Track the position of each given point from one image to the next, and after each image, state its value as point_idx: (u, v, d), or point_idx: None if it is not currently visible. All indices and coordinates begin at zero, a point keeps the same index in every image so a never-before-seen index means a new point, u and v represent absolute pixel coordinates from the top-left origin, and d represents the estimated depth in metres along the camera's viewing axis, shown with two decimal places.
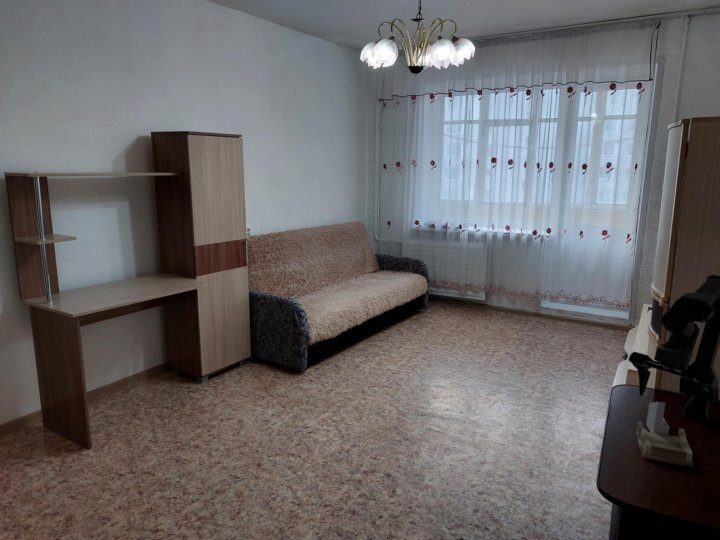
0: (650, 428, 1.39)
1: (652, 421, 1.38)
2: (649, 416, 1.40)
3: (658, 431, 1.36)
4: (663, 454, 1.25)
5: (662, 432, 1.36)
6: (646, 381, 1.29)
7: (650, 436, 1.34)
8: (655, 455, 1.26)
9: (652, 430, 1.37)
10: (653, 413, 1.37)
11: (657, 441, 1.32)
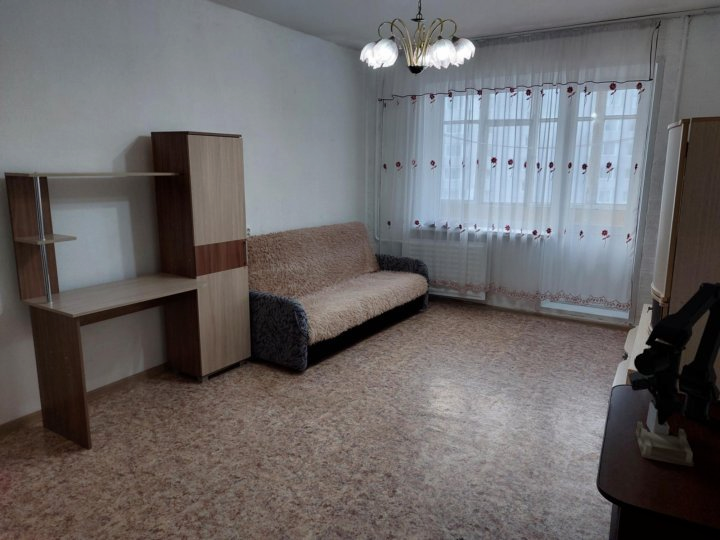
0: (650, 428, 1.39)
1: (652, 420, 1.38)
2: (649, 416, 1.40)
3: (658, 431, 1.36)
4: (663, 454, 1.25)
5: (662, 432, 1.36)
6: None
7: (650, 436, 1.34)
8: (655, 455, 1.26)
9: (652, 430, 1.37)
10: (653, 413, 1.37)
11: (657, 441, 1.32)
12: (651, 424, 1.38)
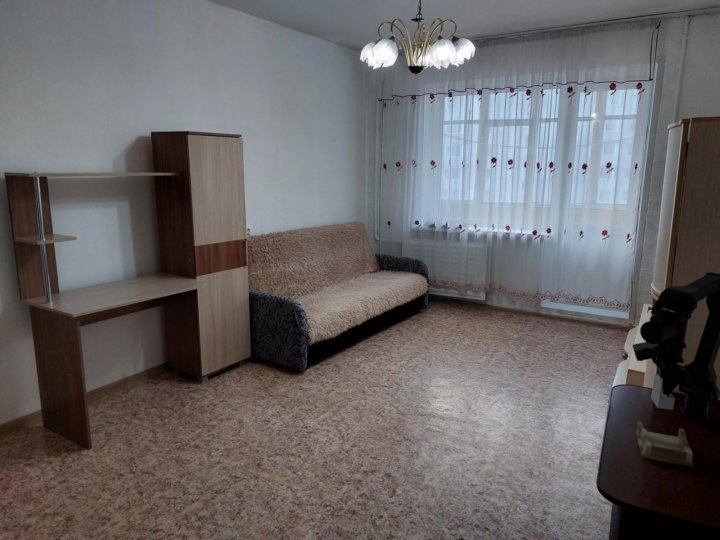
0: (655, 401, 1.35)
1: (656, 393, 1.34)
2: (654, 389, 1.36)
3: (663, 403, 1.33)
4: (663, 454, 1.25)
5: (667, 404, 1.32)
6: None
7: (650, 436, 1.34)
8: (655, 455, 1.26)
9: (657, 402, 1.34)
10: (658, 385, 1.34)
11: (657, 441, 1.32)
12: (656, 397, 1.35)
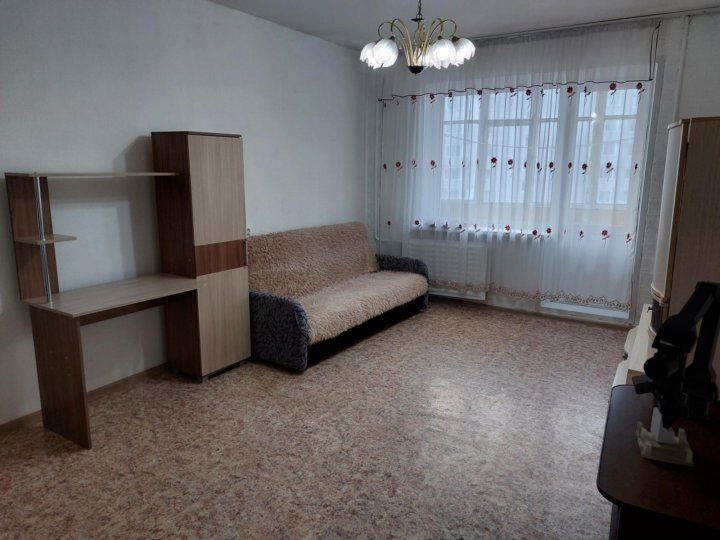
0: (654, 434, 1.33)
1: (656, 426, 1.32)
2: (653, 421, 1.34)
3: (663, 437, 1.30)
4: (663, 454, 1.25)
5: (667, 438, 1.30)
6: None
7: (650, 436, 1.34)
8: (655, 455, 1.26)
9: (656, 436, 1.31)
10: (657, 418, 1.31)
11: None
12: (655, 430, 1.32)
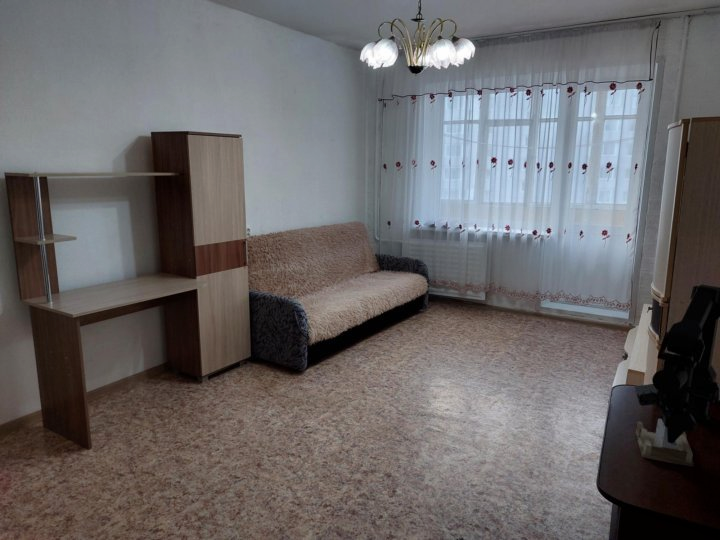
0: (658, 446, 1.28)
1: (660, 438, 1.27)
2: (657, 433, 1.29)
3: None
4: (663, 454, 1.25)
5: None
6: None
7: (650, 436, 1.34)
8: (655, 455, 1.26)
9: None
10: (661, 430, 1.26)
11: None
12: (659, 442, 1.27)
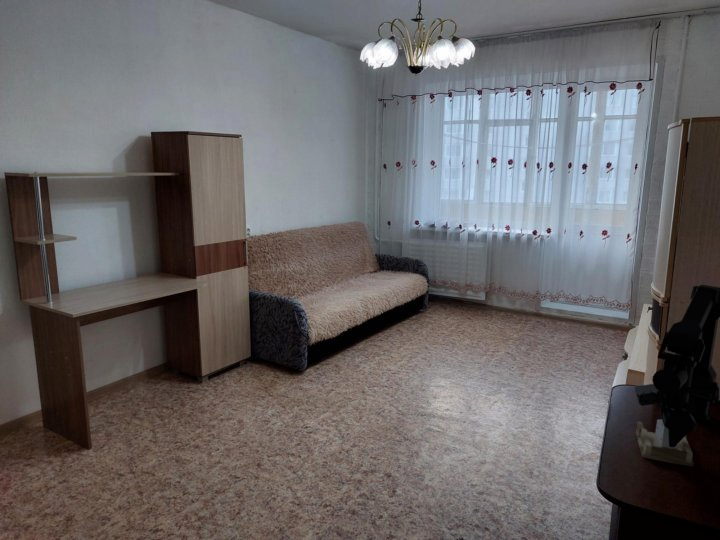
0: None
1: (659, 439, 1.27)
2: (657, 434, 1.29)
3: None
4: (663, 454, 1.25)
5: None
6: None
7: (650, 436, 1.34)
8: (655, 455, 1.26)
9: None
10: (660, 431, 1.27)
11: None
12: (658, 443, 1.28)
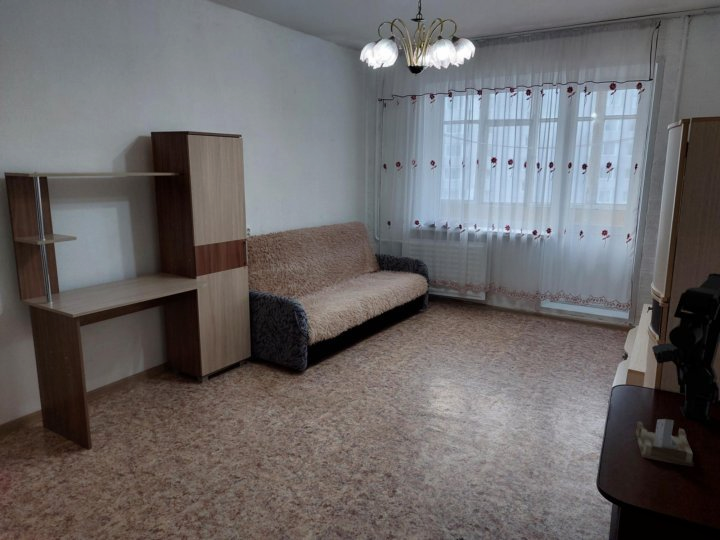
0: None
1: (659, 439, 1.27)
2: (657, 434, 1.29)
3: None
4: (663, 454, 1.25)
5: None
6: None
7: (650, 436, 1.34)
8: (655, 455, 1.26)
9: None
10: (660, 431, 1.27)
11: None
12: (658, 443, 1.28)
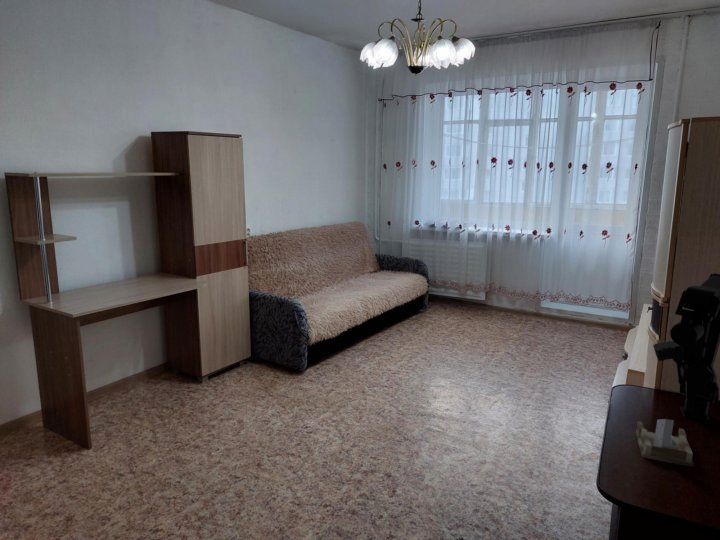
0: None
1: (659, 439, 1.27)
2: (657, 434, 1.29)
3: None
4: (663, 454, 1.25)
5: None
6: None
7: (650, 436, 1.34)
8: (655, 455, 1.26)
9: None
10: (660, 431, 1.27)
11: None
12: (658, 443, 1.28)
